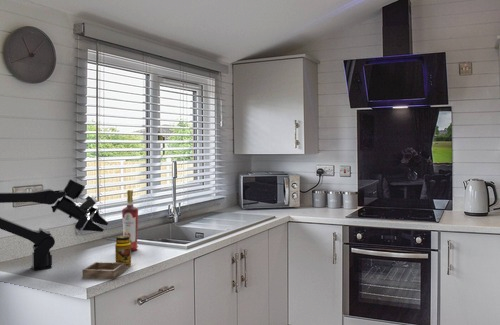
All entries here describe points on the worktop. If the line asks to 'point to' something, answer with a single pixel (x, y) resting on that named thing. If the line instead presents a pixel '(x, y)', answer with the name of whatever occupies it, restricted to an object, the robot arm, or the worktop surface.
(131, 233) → the liquor
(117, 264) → the walnut tray
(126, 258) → the condiment
